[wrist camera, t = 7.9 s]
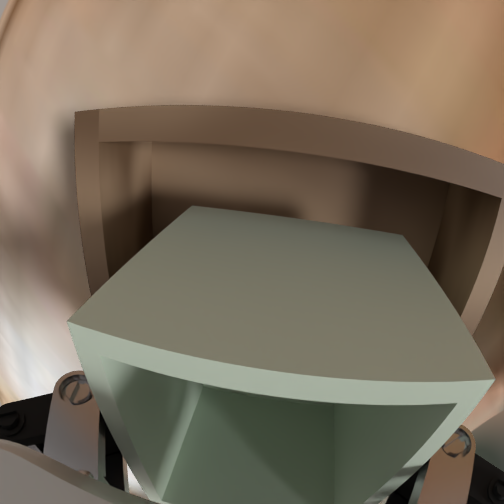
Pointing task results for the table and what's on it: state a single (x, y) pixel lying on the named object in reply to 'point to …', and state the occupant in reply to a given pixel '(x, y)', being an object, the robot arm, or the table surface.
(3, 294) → the table surface
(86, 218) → the big crate
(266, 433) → the box
